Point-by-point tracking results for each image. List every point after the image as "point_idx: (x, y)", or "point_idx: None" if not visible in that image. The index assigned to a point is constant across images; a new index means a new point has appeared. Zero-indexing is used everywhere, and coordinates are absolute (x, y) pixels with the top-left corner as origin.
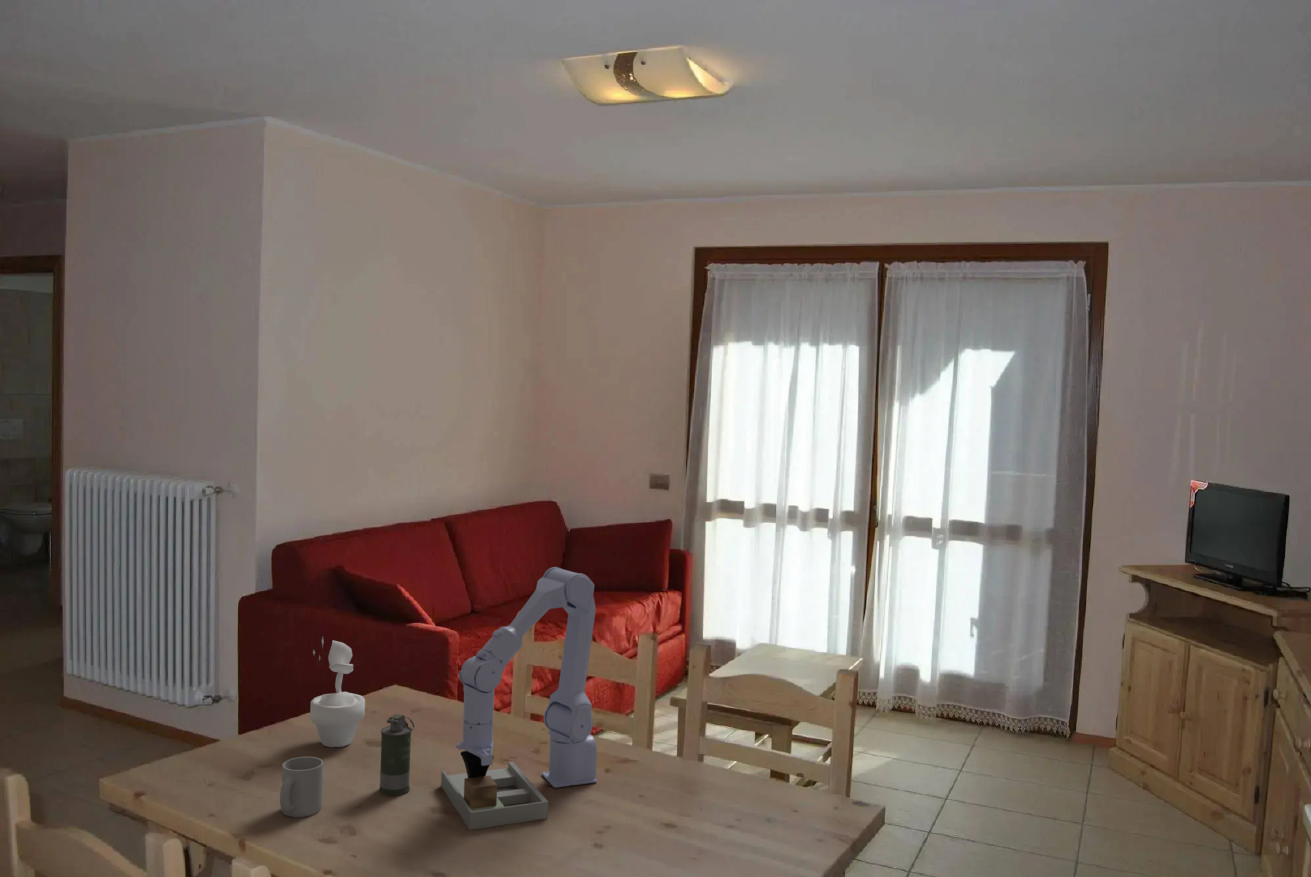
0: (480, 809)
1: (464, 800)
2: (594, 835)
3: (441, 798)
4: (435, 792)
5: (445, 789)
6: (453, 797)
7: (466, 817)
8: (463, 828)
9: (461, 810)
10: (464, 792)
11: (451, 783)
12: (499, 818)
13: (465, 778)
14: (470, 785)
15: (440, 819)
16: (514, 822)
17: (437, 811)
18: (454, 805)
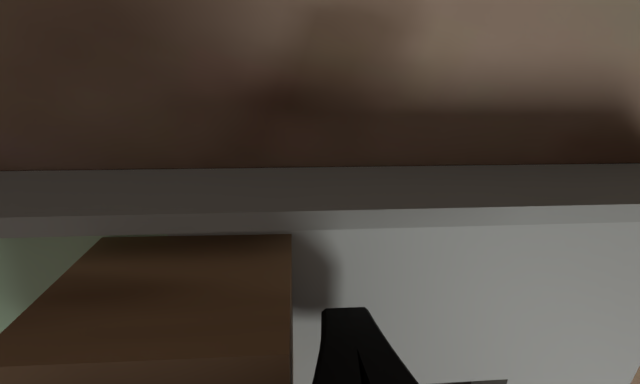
0: None
1: (133, 232)
2: None
3: (500, 123)
4: (602, 110)
5: (577, 170)
6: (390, 182)
7: (31, 186)
8: (9, 142)
9: (170, 183)
10: (276, 264)
11: (513, 214)
12: None
13: (285, 364)
14: (61, 374)
15: (178, 31)
16: None
17: (317, 46)
18: (350, 169)
